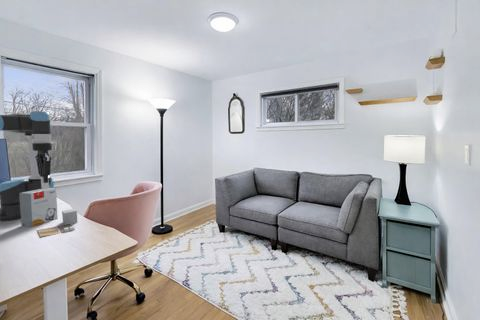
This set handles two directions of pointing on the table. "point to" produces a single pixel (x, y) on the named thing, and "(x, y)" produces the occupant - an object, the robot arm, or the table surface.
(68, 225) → the laminate strip
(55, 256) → the table surface
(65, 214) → the block
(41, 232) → the board
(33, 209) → the hard drive box
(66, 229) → the spacer wedges
